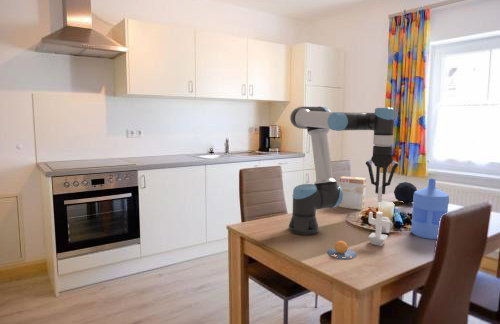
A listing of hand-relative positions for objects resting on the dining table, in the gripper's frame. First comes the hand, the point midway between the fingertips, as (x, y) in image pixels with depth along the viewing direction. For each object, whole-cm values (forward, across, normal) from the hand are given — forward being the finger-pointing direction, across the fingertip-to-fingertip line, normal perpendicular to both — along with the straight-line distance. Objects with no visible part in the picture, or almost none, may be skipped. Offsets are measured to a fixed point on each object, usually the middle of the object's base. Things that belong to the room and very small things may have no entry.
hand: (379, 201), depth 147 cm
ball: (+20, +14, +6) cm, 25 cm away
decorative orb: (+23, -10, -100) cm, 103 cm away
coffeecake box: (+23, +21, -73) cm, 79 cm away
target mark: (+23, +14, +7) cm, 28 cm away
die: (+23, 0, -30) cm, 38 cm away
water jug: (+23, -21, -36) cm, 48 cm away
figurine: (+23, +1, -12) cm, 26 cm away
